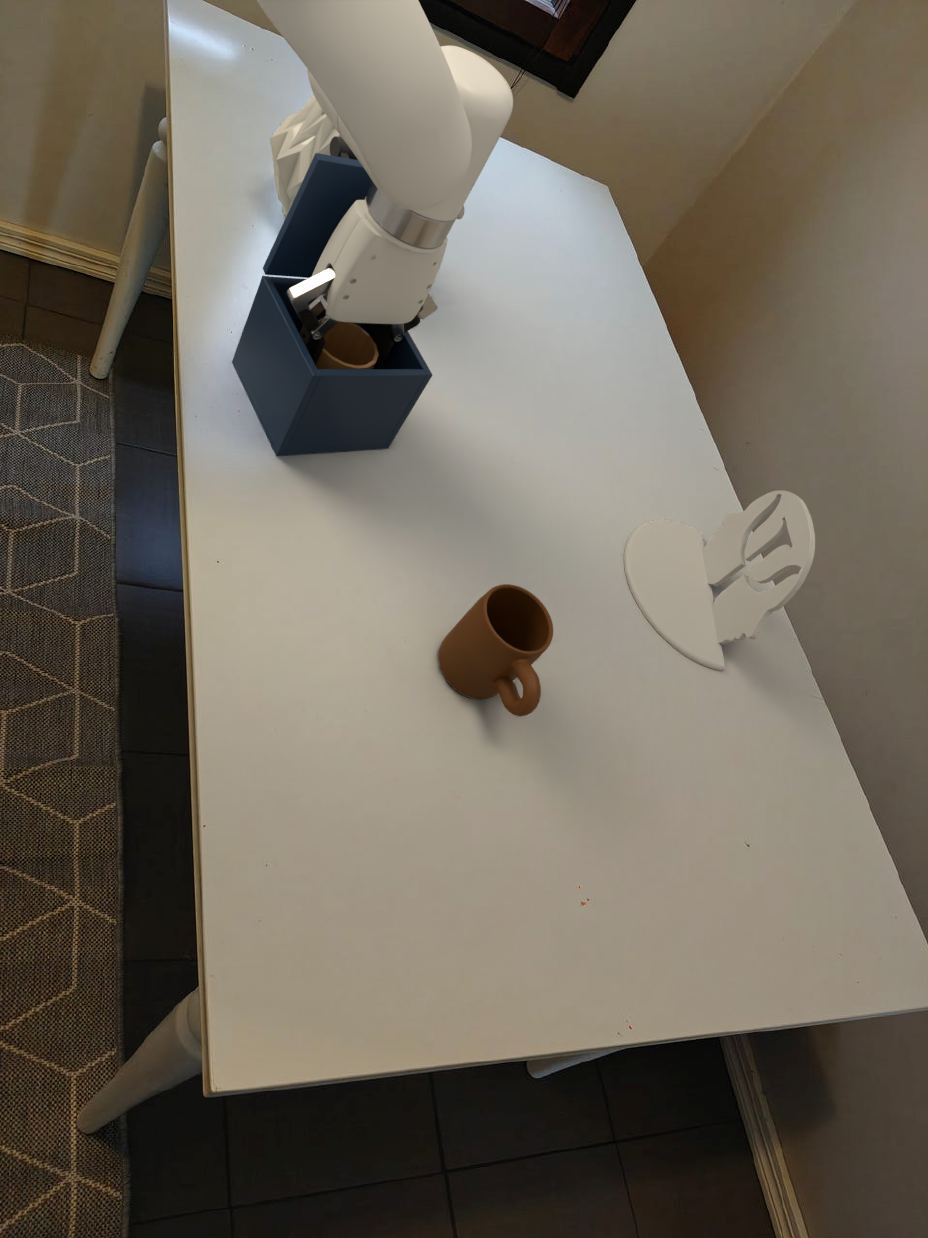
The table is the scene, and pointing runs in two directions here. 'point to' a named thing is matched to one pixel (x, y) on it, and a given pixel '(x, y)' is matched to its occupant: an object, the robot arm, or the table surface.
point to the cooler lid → (317, 210)
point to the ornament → (718, 575)
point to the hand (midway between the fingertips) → (337, 359)
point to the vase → (299, 148)
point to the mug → (499, 648)
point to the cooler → (320, 383)
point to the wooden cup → (347, 348)
